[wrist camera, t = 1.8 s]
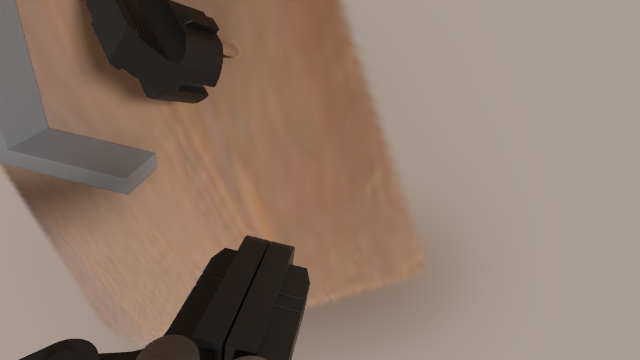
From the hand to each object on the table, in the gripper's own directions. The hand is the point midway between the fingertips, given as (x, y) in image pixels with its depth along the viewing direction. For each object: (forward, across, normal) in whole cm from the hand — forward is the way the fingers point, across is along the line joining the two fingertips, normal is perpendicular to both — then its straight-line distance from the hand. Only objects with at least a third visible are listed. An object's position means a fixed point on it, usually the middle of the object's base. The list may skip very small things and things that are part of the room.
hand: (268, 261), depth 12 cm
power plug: (+17, +13, -2) cm, 22 cm away
